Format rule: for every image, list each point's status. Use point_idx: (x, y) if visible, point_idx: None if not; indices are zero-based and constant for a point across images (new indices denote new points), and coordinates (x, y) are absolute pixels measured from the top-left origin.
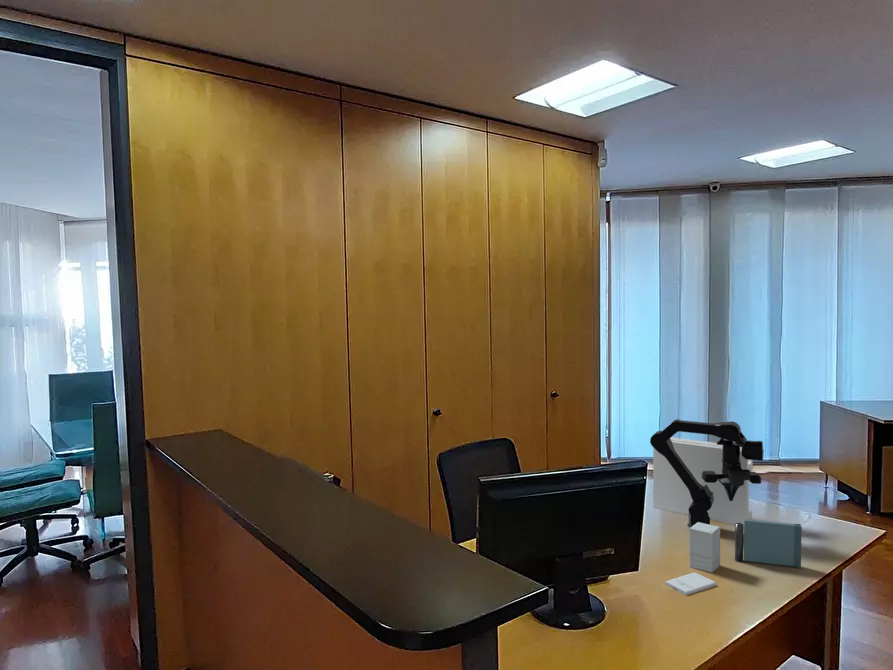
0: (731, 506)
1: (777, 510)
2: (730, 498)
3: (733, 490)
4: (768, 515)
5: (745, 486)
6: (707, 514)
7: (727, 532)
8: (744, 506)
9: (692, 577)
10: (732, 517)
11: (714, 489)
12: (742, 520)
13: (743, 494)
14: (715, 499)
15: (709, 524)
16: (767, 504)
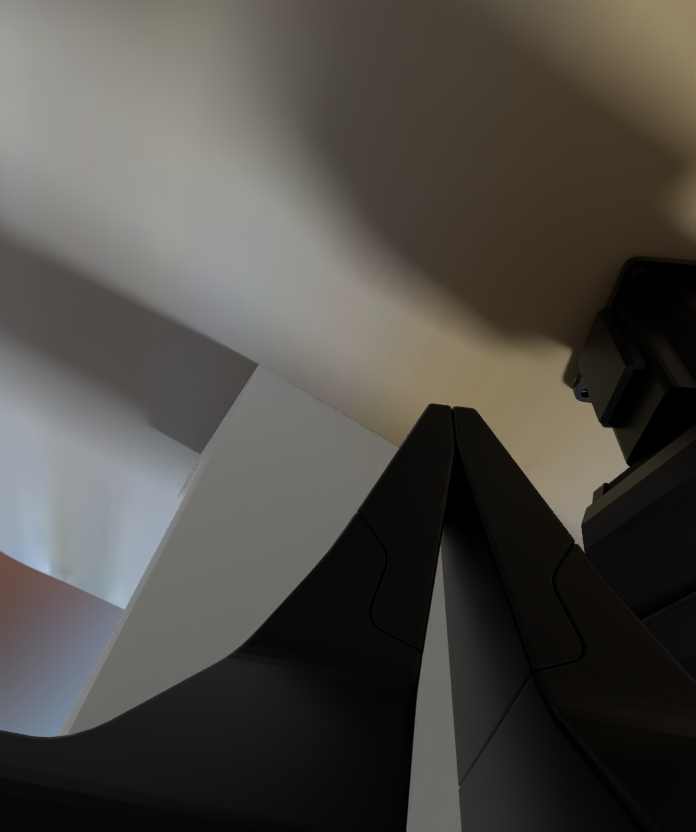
0: (325, 517)
1: (58, 545)
2: (475, 432)
3: (420, 578)
4: (101, 502)
5: (109, 693)
6: (679, 381)
7: (458, 246)
8: (219, 482)
9: None
10: (334, 445)
11: (440, 708)
12: (272, 403)
13: (181, 594)
14: (433, 607)
15: (614, 324)
16: (100, 596)
